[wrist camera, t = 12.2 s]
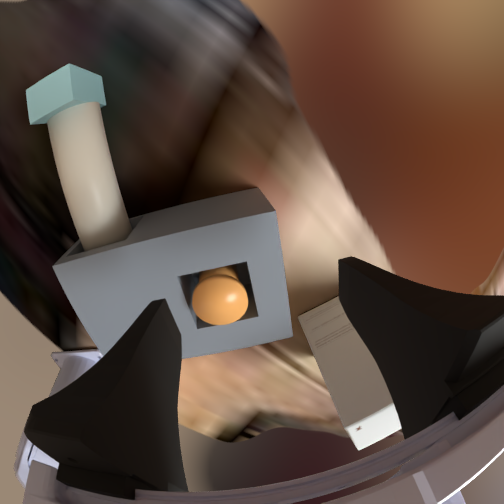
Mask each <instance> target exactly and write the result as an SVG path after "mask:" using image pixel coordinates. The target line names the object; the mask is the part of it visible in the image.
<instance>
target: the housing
mask: <svg viewBox="0 0 504 504" xmlns="http://www.w3.org/2000/svg"><path fill="white" fill-rule="evenodd" d="M129 221H130V224H131V227H132V230H133V231H132V232H131V233H130V235H129V236H128V238H127V239H126V240H124V241H120V242H117V243H113V244H109V245H106V246H102V247H99V248H95V249H92V250H88V251H84V249H83V246H82V244H81V241H80V239H79V240H78V241H77V242H76V243H75V244H74V245H73V246H72V247H71V248H70V249H69V250H68V251H67V252H66V253H65V254H64V255H63V256H62V257H61V258H60V259H59V260H58V261H57V262H56V263H55V264H54V265H53V266H52V267H53V269H54V271H55V273H56V275H57V278H58V280H59V282H60V284H61V286H62V288H63V290H64V292H65V293H66V295H67V297H68V299H69V301H70V303H71V305H72V306H73V308H74V310H75V312H76V314H77V315H78V317H79V319H80V320H81V322H82V324H83V325H84V327H85V329H86V330H87V332H88V334H89V335H90V337H91V338H92V340H93V341H94V343H95V344H96V346H97V347H98V349H99V350H100V352H101V353H102V355H103V356H104V355H105V354H106V353H107V352H108V351H109V350H110V349H111V348H112V347H113V346H114V345H115V343H116V342H117V341H118V340H119V339H120V338H121V337H122V336H123V334H124V333H125V332H126V331H127V330H128V329H129V327H130V326H131V325H132V324H133V322H134V321H135V320H136V319H137V318H138V316H139V315H140V314H141V313H142V311H143V310H144V309H145V308H146V307H147V306H148V304H149V303H150V302H151V301H154V300H159V299H164V298H165V299H166V301H167V303H168V306H169V308H170V310H171V313H172V315H173V317H174V320H175V322H176V324H177V326H178V329H179V331H180V333H181V337H182V359H185V358H191V357H198V356H204V355H209V354H215V353H221V352H226V351H231V350H236V349H241V348H246V347H251V346H256V345H260V344H265V343H269V342H273V341H277V340H282V339H286V338H290V337H293V332H292V324H291V316H290V308H289V300H288V292H287V285H286V277H285V270H284V263H283V256H282V249H281V242H280V235H279V228H278V222H277V215H276V210H275V209H274V208H273V206H272V205H271V204H270V202H269V201H268V200H267V198H266V197H265V196H264V194H263V193H262V192H261V190H260V189H259V188H253V189H248V190H243V191H239V192H234V193H229V194H225V195H220V196H216V197H211V198H207V199H203V200H198V201H194V202H190V203H186V204H182V205H178V206H174V207H170V208H166V209H163V210H159V211H155V212H151V213H148V214H144V215H140V216H137V217H133V218H130V219H129ZM232 264H236V265H237V271H238V277H239V281H240V282H241V283H242V284H243V286H244V287H245V289H246V293H247V297H248V307H247V310H246V312H245V313H244V315H243V316H242V317H241V318H240V319H238V320H237V321H235V322H233V323H230V324H226V325H213V324H209V323H207V322H205V321H203V320H202V319H200V318H199V317H198V316H197V315H196V313H195V312H194V310H193V306H192V298H193V291H194V289H195V287H196V285H197V284H198V283H199V273H200V271H205V270H210V269H214V268H219V267H223V266H228V265H232Z"/></svg>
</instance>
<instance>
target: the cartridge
mask: <svg viewBox="0 0 504 504" xmlns="http://www.w3.org/2000/svg"><path fill="white" fill-rule="evenodd" d="M26 97H27V106H28V114H29V121H30V124H45V123H47V124H48V130H49V135H50V140H51V145H52V150H53V154H54V158H55V162H56V166H57V170H58V174H59V178H60V181H61V185H62V188H63V192H64V195H65V198H66V202H67V205H68V208H69V211H70V214H71V217H72V219H73V222H74V225H75V228H76V231H77V233H78V236H79V238H80V241H81V244H82V246H83V249H84V251H88V250H92V249H95V248H99V247H102V246H106V245H109V244H113V243H117V242H120V241H124V240H126V239H127V238H128V236H129V235H130V233H131V232H132V231H133V230H132V227H131V224H130V221H129V218H128V215H127V212H126V209H125V206H124V202H123V199H122V196H121V192H120V189H119V185H118V182H117V178H116V175H115V171H114V167H113V163H112V159H111V155H110V151H109V147H108V143H107V138H106V134H105V129H104V124H103V120H102V114H101V109H100V108H101V107H103V106H106V101H105V95H104V89H103V83H102V76H99V75H97V74H95V73H92V72H90V71H87V70H85V69H82V68H79V67H77V66H74V65H71V64H68V65H66V66H64V67H62V68H60V69H59V70H57V71H55V72H53V73H52V74H50V75H48V76H47V77H45V78H44V79H42V80H40V81H39V82H37V83H36V84H34V85H33V86H31V87H30V88H28V89H27V90H26Z"/></svg>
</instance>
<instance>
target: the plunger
mask: <svg viewBox="0 0 504 504" xmlns="http://www.w3.org/2000/svg"><path fill="white" fill-rule="evenodd" d="M192 306H193V310H194V312H195V313H196V315H197V316H198V317H199V318H200V319H202V320H203V321H205V322H207V323H209V324H213V325H226V324H230V323H233V322H235V321H237V320H238V319H240V318H241V317H242V316H243V315H244V313H245V312H246V310H247V307H248V297H247V293H246V289H245V287H244V286H243V284H242V283H241V282H240V281H239V277H238V271H237V265H236V264H232V265H228V266H223V267H219V268H214V269H210V270H205V271H200V273H199V283H198V284H197V285H196V287H195V289H194V291H193V298H192Z"/></svg>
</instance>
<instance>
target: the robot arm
mask: <svg viewBox="0 0 504 504" xmlns="http://www.w3.org/2000/svg"><path fill="white" fill-rule="evenodd" d="M338 264H339V301H340V303H341V305H342V307H343V310H344V312H345V314H346V316H347V318H348V319H349V321H350V322H351V324H352V325H353V327H354V328H355V330H356V331H357V333H358V335H359V336H360V338H361V339H362V341H363V342H364V344H365V345H366V347H367V348H368V350H369V351H370V353H371V354H372V356H373V358H374V360H375V361H376V363H377V365H378V367H379V370H380V372H381V374H382V376H383V378H384V380H385V383H386V385H387V388H388V390H389V393H390V395H391V397H392V400H393V403H394V406H395V409H396V411H397V414H398V417H399V421H400V424H401V427H402V431H403V434H404V438H405V440H403V441H401V442H400V443H397V444H395V445H393V446H391V447H389V448H387V449H384V450H382V451H380V452H378V453H375V454H373V455H370V456H368V457H366V458H363V459H360V460H358V461H355V462H352V463H350V464H347V465H344V466H341V467H338V468H335V469H332V470H329V471H325V472H322V473H319V474H315V475H311V476H307V477H304V478H299V479H295V480H291V481H287V482H281V483H276V484H271V485H266V486H259V487H252V488H244V489H235V490H226V491H209V492H189V491H188V487H187V484H186V478H185V473H184V468H183V462H182V456H181V449H180V440H179V429H178V410H177V407H178V391H179V381H180V371H181V361H182V337H181V333H180V331H179V329H178V326H177V324H176V322H175V320H174V317H173V315H172V313H171V310H170V308H169V306H168V303H167V301H166V299H165V298H164V299H159V300H154V301H151V302H150V303H149V304H148V306H147V307H146V308H145V309H144V310H143V311H142V313H141V314H140V315H139V316H138V318H137V319H136V320H135V321H134V322H133V324H132V325H131V326H130V327H129V329H128V330H127V331H126V332H125V333H124V334H123V336H122V337H121V338H120V339H119V340H118V341H117V342H116V343H115V345H114V346H113V347H112V348H111V349H110V350H109V351H108V352H107V353H106V354H105V355H104V356H103V355H102V353H101V352H100V350H98V349H91V350H79V351H65V352H52V354H51V357H52V358H53V360H54V361H55V362H56V364H57V365H58V366H59V367H60V371H59V374H58V376H57V378H56V380H55V383H54V385H53V388H52V390H51V393H50V395H49V397H48V398H46V399H44V400H42V401H40V402H38V403H37V404H34V405H33V406H32V409H31V411H30V414H29V417H28V419H27V422H26V424H25V427H24V430H23V433H22V436H21V439H20V442H19V445H18V449H17V452H16V461H15V464H14V471H15V476H16V478H17V479H18V481H19V482H20V483H21V485H22V486H23V488H24V489H25V493H24V499H23V504H289V503H294V502H298V501H303V500H307V499H311V498H315V497H318V496H322V495H325V494H329V493H332V492H335V491H338V490H341V489H344V488H347V487H350V486H353V485H355V484H358V483H361V482H363V481H366V480H369V479H371V478H373V477H375V476H378V475H380V474H383V473H385V472H387V471H389V470H391V469H393V468H396V467H398V466H400V465H402V464H404V463H406V462H407V463H406V464H404V465H402V466H401V468H400V471H398V472H397V473H396V474H395V475H394V476H392V477H391V478H390V479H388V480H387V481H385V482H383V483H381V484H378V485H376V486H373V487H370V488H368V489H365V490H362V491H360V492H357V493H354V494H351V495H348V496H345V497H342V498H339V499H336V500H332V501H329V502H326V503H322V504H466V503H465V500H464V498H463V496H462V494H461V492H460V489H462V488H463V487H464V486H465V485H467V484H468V483H469V482H470V481H471V480H473V479H474V478H475V477H476V476H478V475H479V474H480V473H481V472H482V471H483V470H484V469H485V468H486V467H487V466H489V465H490V464H491V463H492V462H493V461H494V460H495V459H496V458H497V457H498V456H499V455H500V454H501V453H502V452H503V451H504V296H488V295H472V294H463V293H456V292H451V291H446V290H441V289H437V288H433V287H429V286H426V285H423V284H419V283H416V282H413V281H411V280H408V279H405V278H403V277H400V276H397V275H395V274H393V273H390V272H388V271H385V270H383V269H381V268H379V267H376V266H374V265H372V264H370V263H367V262H365V261H363V260H360V259H358V258H355V257H352V256H351V257H347V258H343V259H339V260H338ZM413 458H414V459H413ZM411 459H412V460H411ZM409 460H410V461H409ZM408 461H409V462H408Z"/></svg>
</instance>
